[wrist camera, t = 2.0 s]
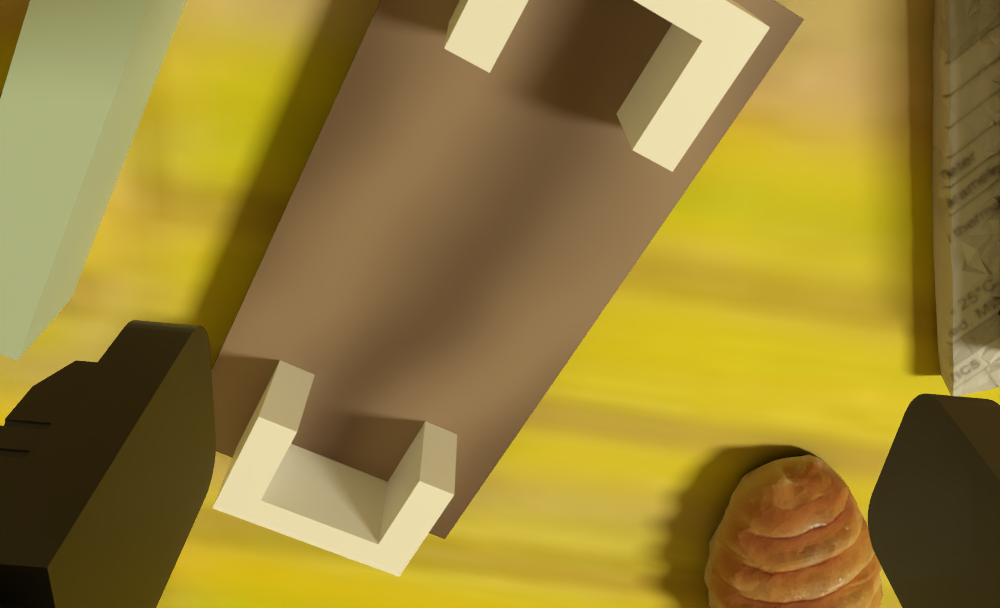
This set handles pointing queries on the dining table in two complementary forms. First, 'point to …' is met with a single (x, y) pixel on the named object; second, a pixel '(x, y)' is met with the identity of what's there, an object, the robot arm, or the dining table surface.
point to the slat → (68, 143)
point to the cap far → (335, 484)
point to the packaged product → (967, 192)
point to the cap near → (666, 78)
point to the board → (461, 231)
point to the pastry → (792, 542)
